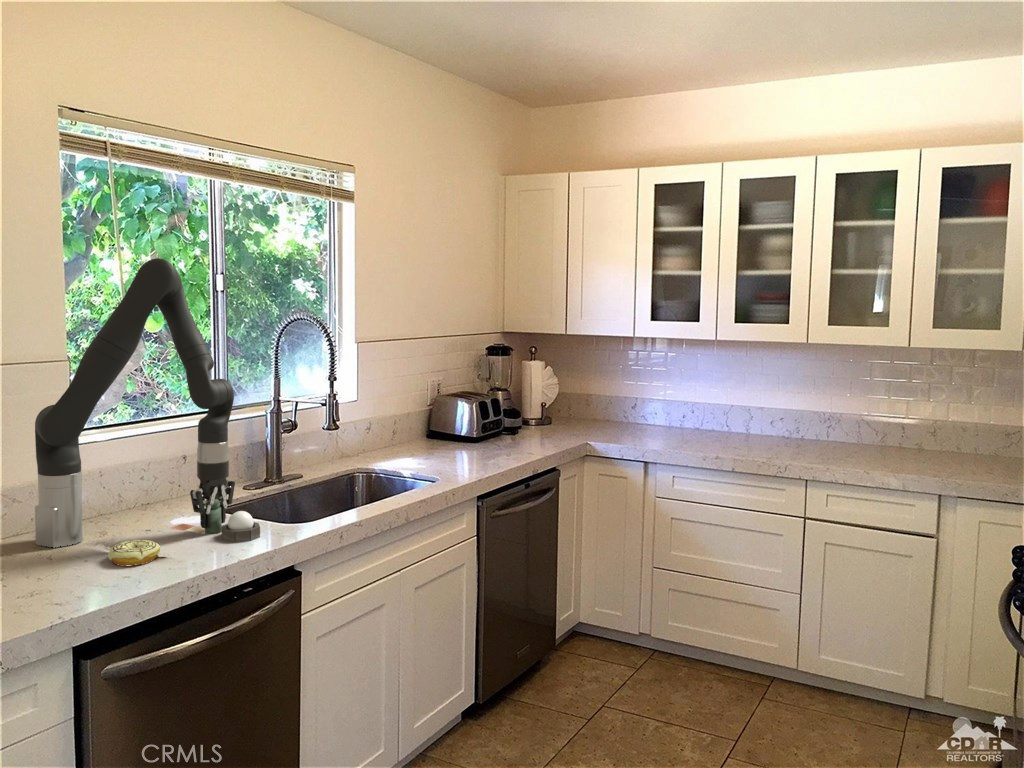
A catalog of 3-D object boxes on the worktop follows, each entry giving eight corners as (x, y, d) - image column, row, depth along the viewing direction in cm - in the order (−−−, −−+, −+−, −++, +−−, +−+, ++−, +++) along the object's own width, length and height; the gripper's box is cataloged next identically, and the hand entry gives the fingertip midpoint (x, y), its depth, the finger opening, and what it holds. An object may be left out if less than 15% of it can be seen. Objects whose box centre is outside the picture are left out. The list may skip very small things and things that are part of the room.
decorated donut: (100, 567, 185) (99, 550, 185) (122, 552, 196) (122, 536, 195) (146, 568, 185) (146, 552, 185) (166, 553, 196) (166, 538, 195)
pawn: (213, 534, 207) (212, 499, 206) (201, 532, 209) (200, 497, 208) (225, 530, 210) (224, 496, 210) (213, 528, 212) (212, 494, 211)
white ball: (242, 539, 203) (242, 515, 202) (222, 536, 205) (222, 512, 204) (258, 533, 208) (258, 510, 208) (239, 530, 210) (239, 507, 210)
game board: (242, 549, 200) (242, 534, 200) (161, 535, 209) (161, 520, 209) (268, 538, 210) (268, 523, 209) (189, 525, 219) (189, 511, 218)
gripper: (204, 465, 200) (205, 534, 201) (244, 455, 213) (244, 520, 215) (180, 462, 202) (180, 530, 204) (220, 452, 216) (220, 516, 217)
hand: (213, 525), depth 209 cm, fingers open, 5 cm apart
